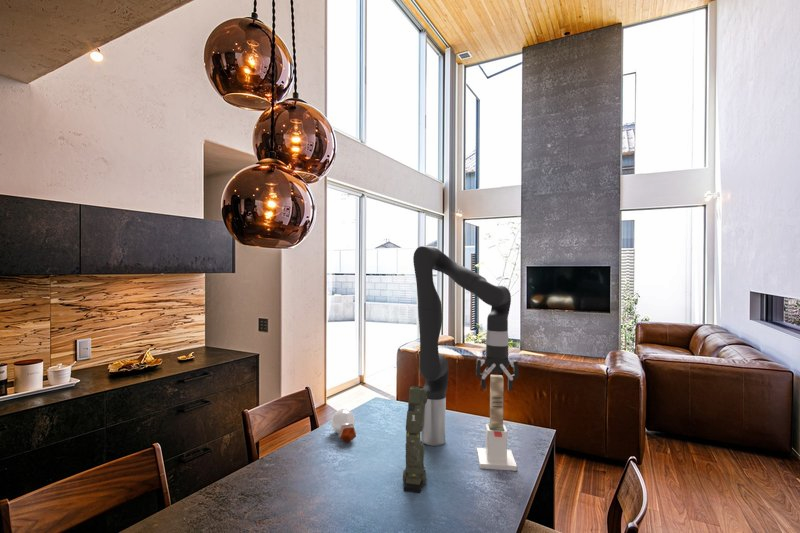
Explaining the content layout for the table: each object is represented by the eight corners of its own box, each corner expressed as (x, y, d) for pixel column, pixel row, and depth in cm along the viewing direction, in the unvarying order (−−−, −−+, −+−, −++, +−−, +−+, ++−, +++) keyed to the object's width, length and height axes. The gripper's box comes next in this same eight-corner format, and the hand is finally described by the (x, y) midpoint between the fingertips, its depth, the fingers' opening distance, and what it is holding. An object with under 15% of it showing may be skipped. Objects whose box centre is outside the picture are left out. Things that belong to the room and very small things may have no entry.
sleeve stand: (479, 468, 132) (480, 433, 132) (476, 451, 144) (477, 420, 144) (516, 470, 131) (517, 435, 131) (510, 453, 142) (510, 421, 143)
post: (490, 440, 135) (491, 377, 135) (489, 435, 140) (490, 374, 140) (503, 441, 135) (504, 378, 135) (501, 436, 139) (502, 375, 139)
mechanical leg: (421, 497, 113) (426, 388, 120) (397, 494, 114) (403, 386, 122) (427, 484, 126) (431, 386, 133) (405, 481, 127) (410, 384, 135)
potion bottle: (343, 430, 164) (350, 450, 150) (324, 419, 161) (330, 439, 147) (356, 412, 165) (365, 430, 151) (338, 401, 162) (345, 418, 148)
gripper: (477, 344, 135) (476, 392, 134) (520, 346, 133) (519, 394, 133) (475, 340, 142) (475, 385, 142) (516, 341, 140) (515, 387, 140)
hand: (496, 389), depth 137 cm, fingers open, 8 cm apart
